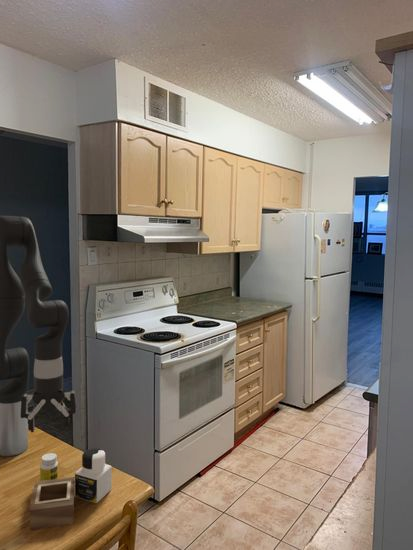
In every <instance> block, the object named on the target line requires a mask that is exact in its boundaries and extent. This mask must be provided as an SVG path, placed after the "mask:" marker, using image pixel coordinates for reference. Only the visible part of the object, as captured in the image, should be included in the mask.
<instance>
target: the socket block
mask: <svg viewBox="0 0 413 550" xmlns="http://www.w3.org/2000/svg"><path fill="white" fill-rule="evenodd" d="M32 490H33V492H32V496H31V501H30V506H29V531H31V530H36V529H37V530H38V529H39V530H40V529H47V528H51V527H60V526H66V525H72V524H74V518H75V517H74V516H75V498H76V497H75V476H73V477H72V476H71V477H65V478H64V477H63V478H58V479H54V480H45V481H40V480H39V481H35V482H34V486H33V489H32Z"/></svg>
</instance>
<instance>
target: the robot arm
mask: <svg viewBox="0 0 413 550" xmlns="http://www.w3.org/2000/svg"><path fill="white" fill-rule="evenodd" d="M9 247H10V248H11V247H17V248H18V247H23V249H24V250H25V256H24V258H23V261H22V263H21V265H20V268H19V276H18V274H17V273H16V272H15V270H14V269H13V267H12V264H11V263H10V260H9V257H8V256H9V255H8V248H9ZM43 265H44V264H43V261H42V258H41V253H40V249H39V243H38V240H37V236H36V231H35V228H34V225H33V223H32V221H31V220H30V219H29V218H28V217H26V216H18V215H17V216H16V215H0V381H6V380H9V381H8V382H7V383H6V384H5V385H3V386H1V387H0V456H2V457H12V456H16V455H20V454H22V453H24V452H25V451H26V450H27V449H28V448H29V439H28V438H29V436H28V435H29V434H28V433H29V432H28V431H30V433H34V432H35V416H36V414H38V412H39V411H40V410H42V411H47V410H55V409H57V410H58V411H59V412H60V413H62V414H63V430H67V428H68V427H69V426H70V416H71V415H72V414H73V415H74V414H76V410H77V405H76V404H77V403H76V391H75V390H74V389H73V390H70V391H69V392H66V391H64V362H63V339H64V335H65V332H66V328H67V324H68V320H69V315H70V313H69V306H68V305H67V303H66V302H65V301H64V300H61V299H56V300H55V299H53V300H48V299H49V298H50V297H51V296H52V294H53V287H52V285H51V283H50V280H49V278H48V275H47V273H46V271H45V268H44V266H43ZM25 308H26V317H27V321H28V324H29V325H30V326H31V327H33V328H35V329H44V328H49V330H48V331H47V332H45V333H43V334H40V335H39V336H37V337H36V338H35V339H34V363H33V394H28V392H29V378H30V376H29V375H30V357H29V353H28V351H27V350H26V348H24V347H14V348H8V349H6V348H7V344H8V340H9V337H10V336H11V333H12V332H13V330H14V329H15V327H16V326H17V324H18V322H19V321H20V319H21V318H22V316H23V314H24V312H25ZM65 398H66V399H67V401H69V402H70V408H68V407H67V406H66V405H65V403H64V402H63V401H64V400H65ZM31 400H32V401H33V403H34V404H35V405H34V406H33V407H32V409H31V410H30V411H28V404H29V403H30V402H31Z"/></svg>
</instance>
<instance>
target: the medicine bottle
mask: <svg viewBox="0 0 413 550" xmlns="http://www.w3.org/2000/svg"><path fill="white" fill-rule="evenodd" d="M81 457H82V458H81V461H82V462H81V463H82V464H81V467H80V468H79V469H78V470H76V472H75V473H74V477H75V497H74V498H77V499H79V500H80V499H81V500H84V501H87V502H90V503H93V504H98V503H99V502H100V501H101V500H102V499H103V498H104V497H105V496H106V495H107V494H109V493H110V492H111V490H112V484H113V483H112V480H113V479H112V477H113V476H112V473H113V470H112V469H113V467H112V465H110V464H106V452H105V451H104V450H103V449H102V448H97V447H96V448H95V447H94V448H89V449H87V450H85V451H84V452H83V453H82V456H81Z"/></svg>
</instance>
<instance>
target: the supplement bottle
mask: <svg viewBox="0 0 413 550" xmlns="http://www.w3.org/2000/svg"><path fill="white" fill-rule="evenodd" d="M40 463H41V464H39V465H40V466H39V476H40V477H39V481H45V480H54V479H59V462H58V458H57V454H56V453H51V452H50V453H46V454H44V455H42V457H41V462H40Z"/></svg>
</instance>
